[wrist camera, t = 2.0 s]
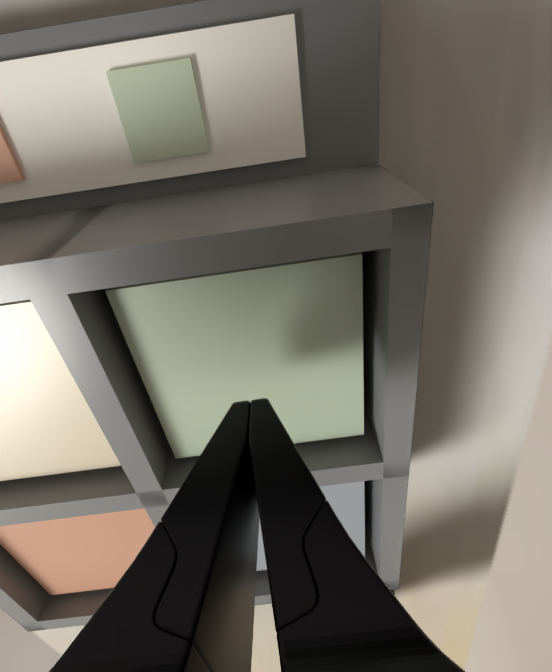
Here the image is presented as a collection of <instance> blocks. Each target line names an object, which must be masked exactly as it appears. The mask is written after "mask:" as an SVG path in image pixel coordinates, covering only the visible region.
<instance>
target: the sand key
mask: <svg viewBox="0 0 552 672" xmlns="http://www.w3.org/2000/svg"><path fill="white" fill-rule="evenodd" d="M115 466H121V464H120V462H119V461H118V459H117V457H116V455H115V453H114V452H113V450H112V448H111V446H110V444H109V442H108V441H107V439H106V437H105V435H104V433H103V431H102V430H101V428H100V426H99V424H98V422H97V420H96V419H95V417H94V415H93V413H92V411H91V410H90V408H89V406H88V404H87V402H86V400H85V399H84V397H83V395H82V393H81V391H80V389H79V388H78V386H77V384H76V382H75V380H74V379H73V377H72V375H71V373H70V371H69V369H68V368H67V366H66V364H65V362H64V360H63V358H62V357H61V355H60V353H59V351H58V349H57V348H56V346H55V344H54V342H53V340H52V338H51V337H50V335H49V333H48V331H47V329H46V327H45V326H44V324H43V322H42V320H41V318H40V316H39V315H38V313H37V311H36V309H35V307H34V306H33V304H32V302H31V300H23V301H16V302H9V303H2V304H0V481H5V480H13V479H21V478H29V477H37V476H45V475H52V474H60V473H68V472H76V471H84V470H91V469H99V468H107V467H115Z"/></svg>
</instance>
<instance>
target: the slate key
mask: <svg viewBox="0 0 552 672" xmlns="http://www.w3.org/2000/svg"><path fill="white" fill-rule="evenodd" d="M320 489H321V490H322V492H323V494H324V496H325V497H326V501H328V502H329V504H330V505H331V507H332V509H333V511H334V512H335V514H336V516H337V517H338V519H339V520H340V522H341V524H342V525H343V527H344V528H345V530H346V532H347V533H348V535H349V536H350V538H351V539H352V540H353V542H354V543H355V545H356V546H357V547H358V549H359V550H360V551H361V553H362V554H363V556H364V557H365V499H364V481H360V482H352V483H344V484H336V485H328V486H320ZM261 570H267V566H266V559H265V552H264V545H263V539H262V532H261V525H260V518H259V534H258V552H257V569H256V571H261Z"/></svg>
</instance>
